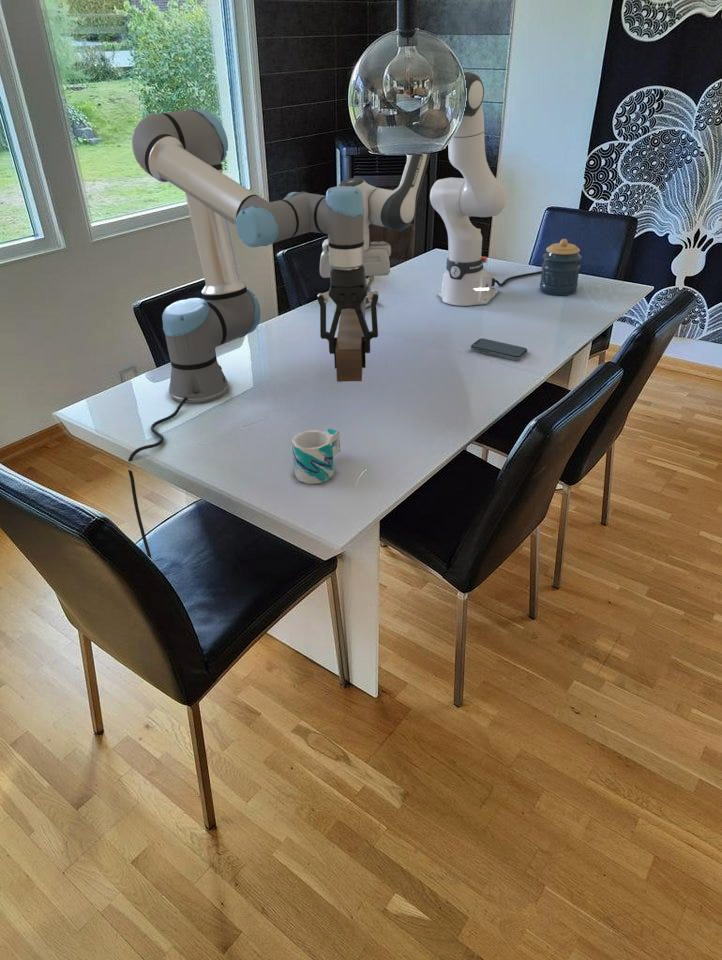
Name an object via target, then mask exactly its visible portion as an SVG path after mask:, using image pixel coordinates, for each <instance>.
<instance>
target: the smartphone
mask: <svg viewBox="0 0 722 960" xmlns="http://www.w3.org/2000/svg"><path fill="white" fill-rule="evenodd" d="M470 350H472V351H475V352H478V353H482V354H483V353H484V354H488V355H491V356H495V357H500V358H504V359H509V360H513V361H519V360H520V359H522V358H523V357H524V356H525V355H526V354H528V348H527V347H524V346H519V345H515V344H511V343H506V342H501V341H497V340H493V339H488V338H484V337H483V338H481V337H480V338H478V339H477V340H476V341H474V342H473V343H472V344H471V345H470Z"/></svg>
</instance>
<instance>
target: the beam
mask: <svg viewBox="0 0 722 960" xmlns="http://www.w3.org/2000/svg"><path fill="white" fill-rule="evenodd" d="M366 284H367V276H365V287H366ZM366 297H367V296H366ZM366 297H365V298H364V300H363V301H362V302H361V307H362V311H363V314H364V317H365V318H366V309H367V307H366ZM336 337H337V342H336V368H335V370H336V382H337V383H338V382H362V381H363V368H362V337H364V335H363V332H362V329H361V326H360V323H359V320H358V317H357V314H356V312H355V309H349V308H347V309H342V310H341V314H340V317H339V321H338V327H337V336H336Z"/></svg>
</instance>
